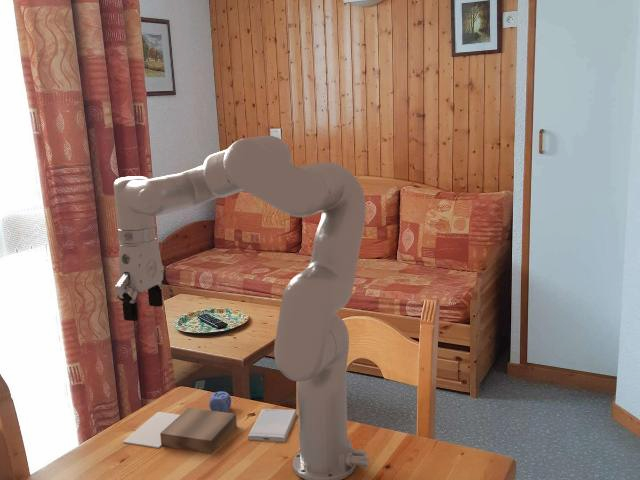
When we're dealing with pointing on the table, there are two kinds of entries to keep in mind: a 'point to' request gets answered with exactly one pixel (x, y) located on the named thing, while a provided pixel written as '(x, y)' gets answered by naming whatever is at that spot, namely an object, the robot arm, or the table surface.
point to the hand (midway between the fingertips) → (144, 312)
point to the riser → (198, 430)
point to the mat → (151, 430)
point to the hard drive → (272, 425)
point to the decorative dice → (220, 402)
